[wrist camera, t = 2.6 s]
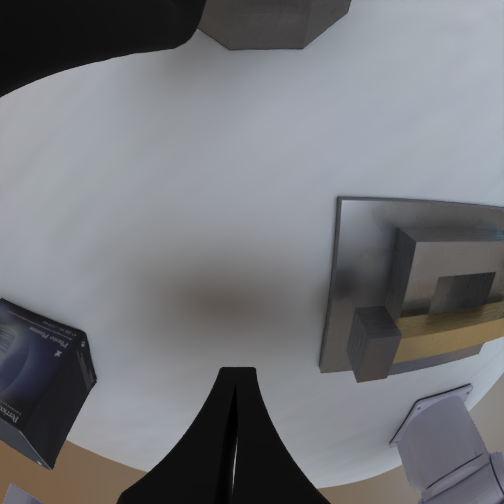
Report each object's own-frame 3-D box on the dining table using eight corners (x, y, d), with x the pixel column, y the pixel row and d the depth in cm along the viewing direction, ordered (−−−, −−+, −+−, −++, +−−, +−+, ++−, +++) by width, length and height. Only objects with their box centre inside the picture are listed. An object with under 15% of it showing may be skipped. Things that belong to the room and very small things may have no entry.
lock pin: (520, 316, 14) (537, 333, 12) (345, 350, 14) (357, 382, 12) (533, 284, 13) (551, 300, 10) (354, 307, 13) (369, 339, 11)
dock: (480, 337, 19) (513, 381, 13) (318, 365, 19) (334, 436, 13) (520, 209, 14) (575, 240, 8) (337, 196, 14) (385, 239, 9)
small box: (87, 327, 18) (20, 434, 9) (99, 381, 21) (56, 474, 11) (-1, 293, 18) (-69, 362, 8) (16, 346, 20) (-34, 414, 11)
